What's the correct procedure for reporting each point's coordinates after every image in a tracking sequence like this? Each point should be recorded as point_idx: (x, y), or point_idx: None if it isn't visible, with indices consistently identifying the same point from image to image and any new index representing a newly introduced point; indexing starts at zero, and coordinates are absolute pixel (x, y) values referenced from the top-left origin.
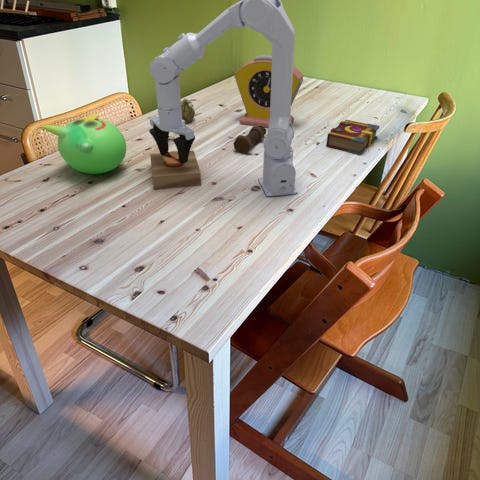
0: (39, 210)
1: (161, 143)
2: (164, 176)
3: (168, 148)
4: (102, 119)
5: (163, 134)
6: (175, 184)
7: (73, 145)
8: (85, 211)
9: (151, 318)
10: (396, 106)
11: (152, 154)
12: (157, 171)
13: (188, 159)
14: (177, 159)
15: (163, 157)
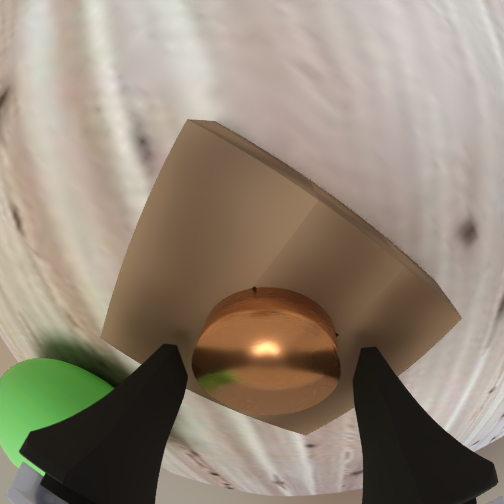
0: (212, 474)
1: (159, 433)
2: (337, 416)
3: (164, 362)
4: (15, 461)
5: (128, 469)
6: None
7: None
8: (266, 466)
9: (476, 449)
10: None
11: (111, 338)
12: (284, 416)
13: (299, 261)
14: (327, 391)
15: (240, 409)
